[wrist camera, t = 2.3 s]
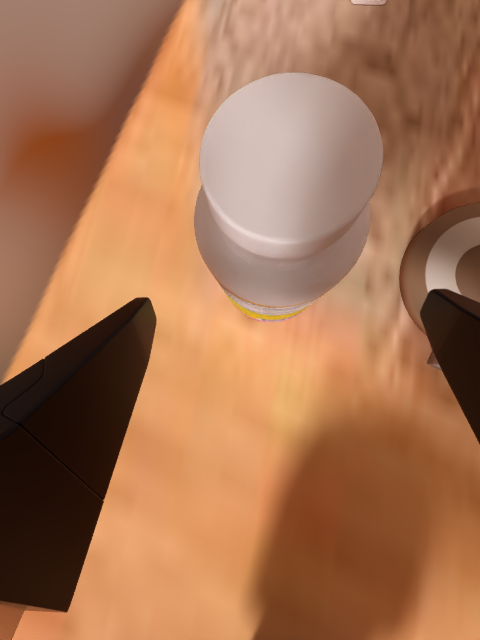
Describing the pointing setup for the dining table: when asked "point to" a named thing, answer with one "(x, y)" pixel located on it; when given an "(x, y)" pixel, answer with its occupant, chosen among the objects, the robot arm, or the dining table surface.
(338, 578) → the dining table surface
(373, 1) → the perfume bottle
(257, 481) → the dining table surface
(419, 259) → the post base
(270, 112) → the supplement bottle
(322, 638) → the dining table surface
